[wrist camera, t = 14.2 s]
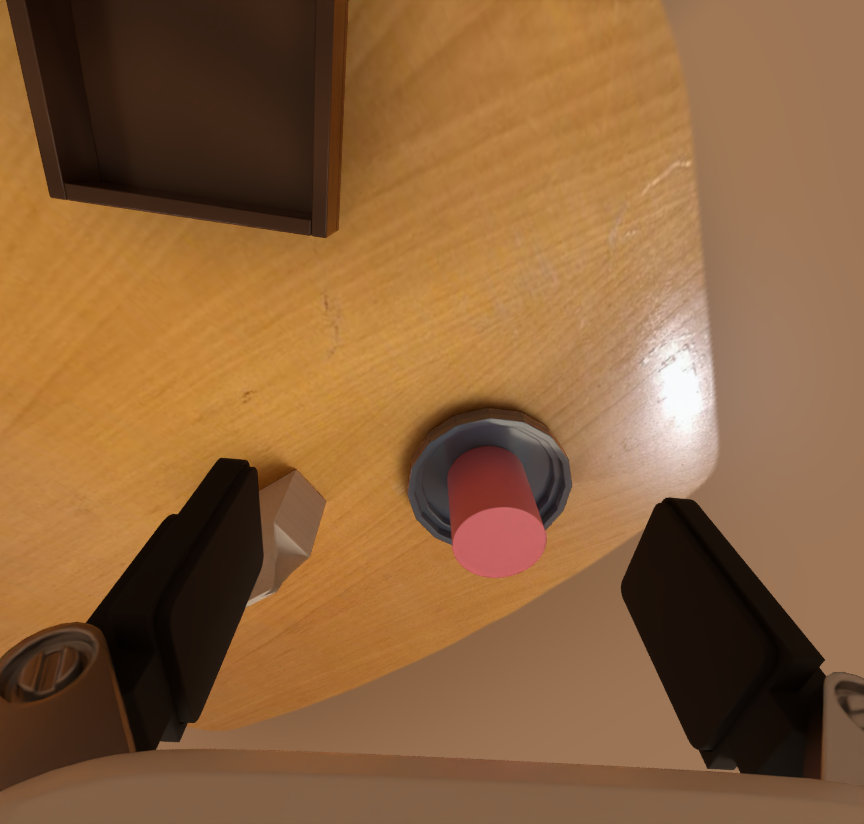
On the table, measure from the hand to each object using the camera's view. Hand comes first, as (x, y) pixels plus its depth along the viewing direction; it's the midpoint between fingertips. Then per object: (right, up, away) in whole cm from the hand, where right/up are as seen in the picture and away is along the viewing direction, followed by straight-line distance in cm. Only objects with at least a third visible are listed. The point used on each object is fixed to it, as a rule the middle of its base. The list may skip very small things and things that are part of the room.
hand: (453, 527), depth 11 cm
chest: (-12, +21, +12) cm, 27 cm away
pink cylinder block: (+4, -2, +24) cm, 25 cm away
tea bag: (-13, -5, +26) cm, 29 cm away
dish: (+4, -2, +25) cm, 25 cm away
